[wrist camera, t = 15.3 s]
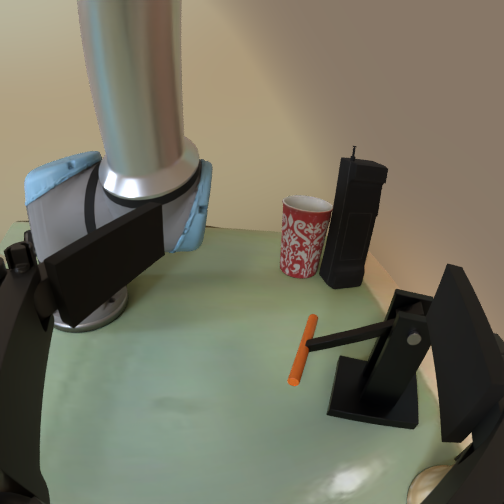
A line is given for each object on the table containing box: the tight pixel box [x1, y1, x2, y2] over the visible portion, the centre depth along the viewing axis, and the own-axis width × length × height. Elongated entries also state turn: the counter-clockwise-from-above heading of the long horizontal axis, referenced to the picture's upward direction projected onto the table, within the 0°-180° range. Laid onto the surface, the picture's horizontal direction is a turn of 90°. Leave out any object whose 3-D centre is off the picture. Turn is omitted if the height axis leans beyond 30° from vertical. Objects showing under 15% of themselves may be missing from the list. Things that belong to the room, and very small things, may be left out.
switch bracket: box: [327, 289, 433, 429], centre depth 29 cm, size 11×9×14 cm
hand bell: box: [407, 464, 454, 504], centre depth 15 cm, size 8×8×16 cm
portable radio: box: [319, 146, 388, 289], centre depth 51 cm, size 8×6×25 cm
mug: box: [280, 195, 333, 278], centre depth 57 cm, size 13×9×14 cm
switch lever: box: [287, 302, 424, 386], centre depth 29 cm, size 14×11×2 cm
